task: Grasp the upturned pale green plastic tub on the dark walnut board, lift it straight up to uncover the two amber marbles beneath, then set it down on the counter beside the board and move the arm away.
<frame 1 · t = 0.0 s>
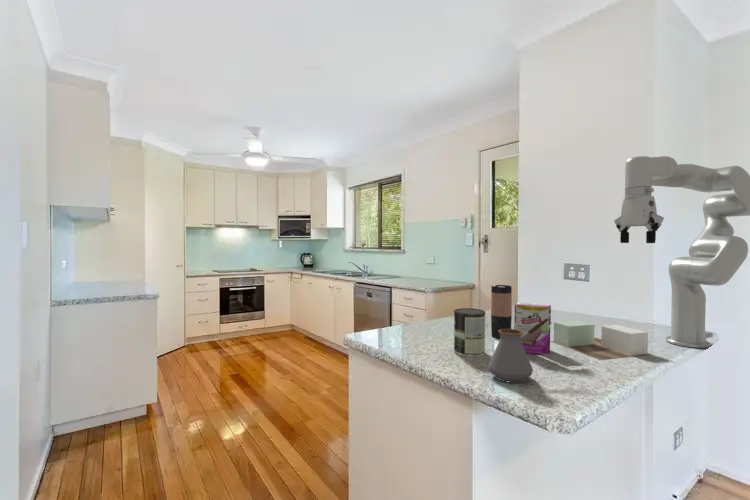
hand: (637, 243, 129), 37 cm above the worktop, tool pointing down, fingers open, 9 cm apart
walnut board: (597, 350, 128), on the worktop
marble 2: (568, 339, 133), point 2 cm above the worktop, touching walnut board
candy bar box: (532, 353, 126), on the worktop
green tub: (573, 342, 134), point 1 cm above the worktop, touching walnut board
white block: (623, 349, 125), point 1 cm above the worktop, touching walnut board
coffee pot: (522, 375, 105), on the worktop
coffee can: (469, 352, 126), on the worktop
travel mug: (501, 337, 146), on the worktop
marble 1: (578, 338, 134), point 2 cm above the worktop, touching walnut board
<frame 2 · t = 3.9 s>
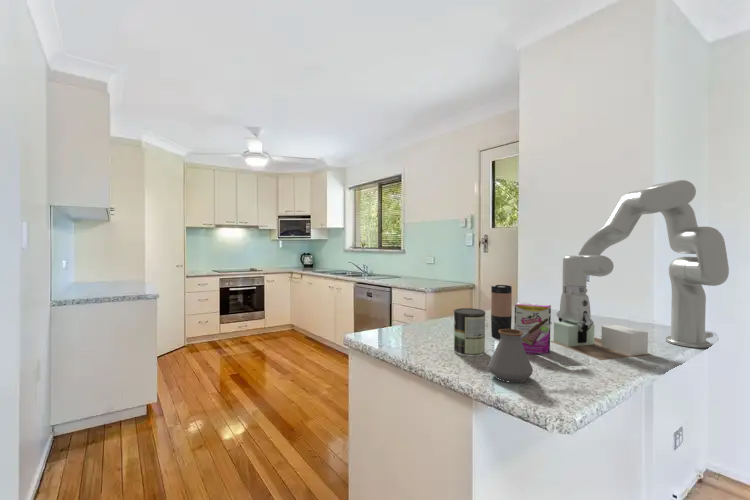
hand: (573, 339, 134), 2 cm above the worktop, tool pointing down, fingers closed on green tub, 7 cm apart
green tub: (573, 342, 134), point 1 cm above the worktop, touching gripper, walnut board
everything else where it was.
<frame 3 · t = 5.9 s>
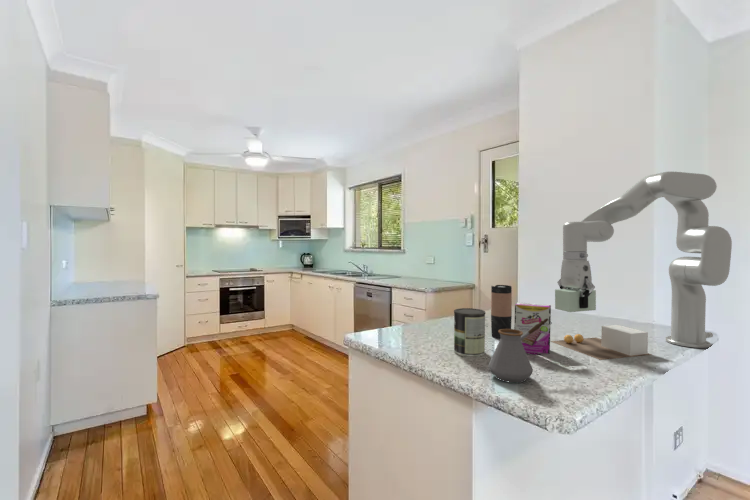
hand: (575, 305, 134), 14 cm above the worktop, tool pointing down, fingers closed on green tub, 7 cm apart
green tub: (575, 309, 134), point 13 cm above the worktop, touching gripper
everything else where it was.
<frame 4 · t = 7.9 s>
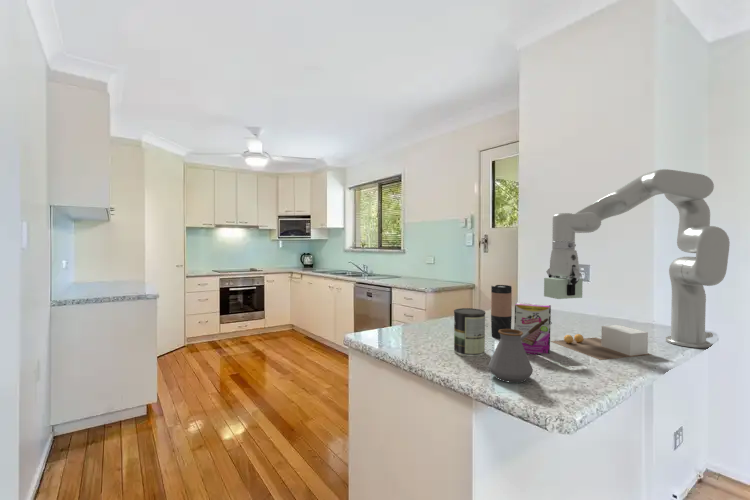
hand: (562, 293, 140), 18 cm above the worktop, tool pointing down, fingers closed on green tub, 7 cm apart
green tub: (562, 296, 140), point 17 cm above the worktop, touching gripper
everything else where it was.
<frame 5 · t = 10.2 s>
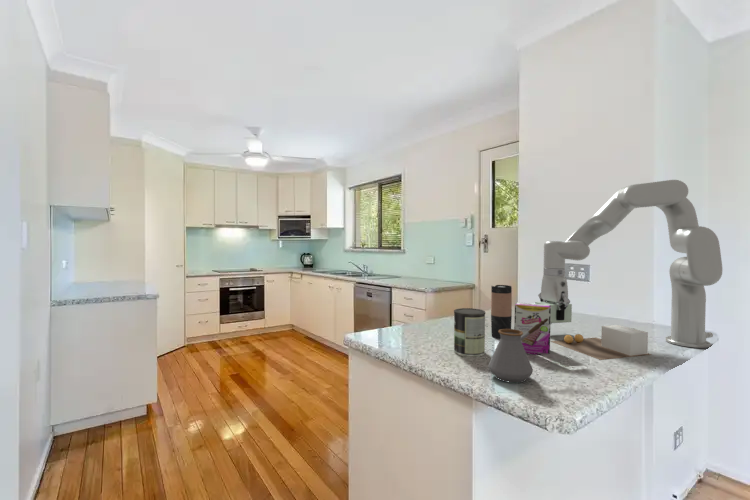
hand: (553, 317, 146), 7 cm above the worktop, tool pointing down, fingers closed on green tub, 7 cm apart
green tub: (552, 320, 146), point 6 cm above the worktop, touching gripper
everything else where it was.
when the fingers open (3 cm above the worktop, at t = 12.1 s): green tub drops 1 cm, on the worktop.
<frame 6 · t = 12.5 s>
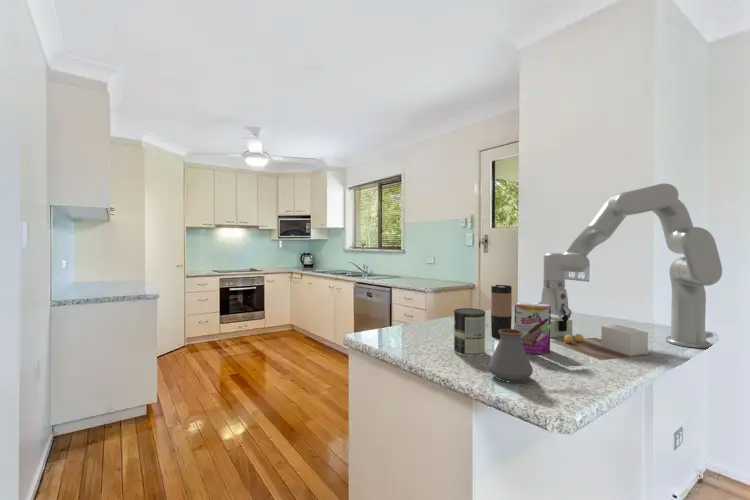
hand: (553, 328, 146), 3 cm above the worktop, tool pointing down, fingers open, 9 cm apart
green tub: (553, 336, 147), on the worktop
everything else where it was.
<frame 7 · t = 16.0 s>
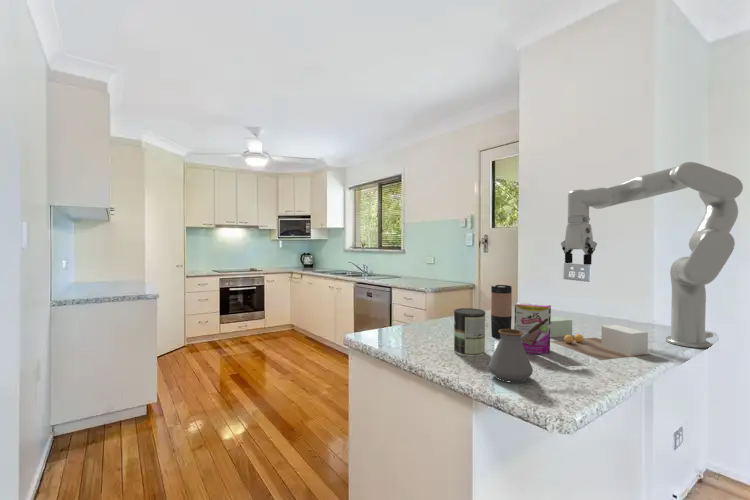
hand: (577, 263, 150), 28 cm above the worktop, tool pointing down, fingers open, 9 cm apart
nothing on the worktop moved.
at the end: green tub inside the target area (0.0 cm from its centre), on the worktop; green tub tilted 0°; the gripper is holding nothing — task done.
